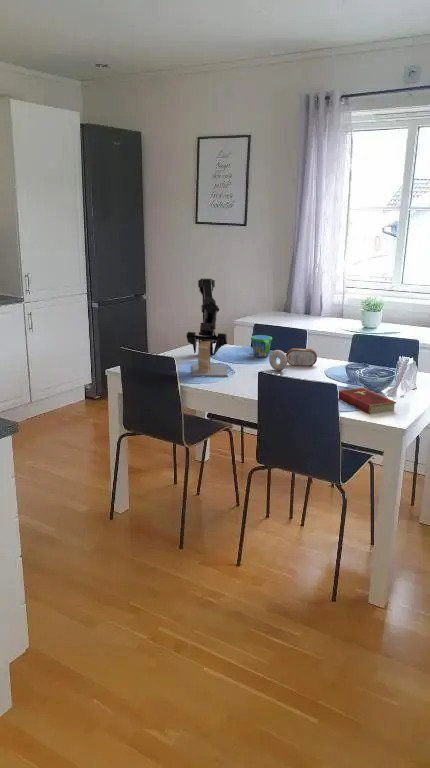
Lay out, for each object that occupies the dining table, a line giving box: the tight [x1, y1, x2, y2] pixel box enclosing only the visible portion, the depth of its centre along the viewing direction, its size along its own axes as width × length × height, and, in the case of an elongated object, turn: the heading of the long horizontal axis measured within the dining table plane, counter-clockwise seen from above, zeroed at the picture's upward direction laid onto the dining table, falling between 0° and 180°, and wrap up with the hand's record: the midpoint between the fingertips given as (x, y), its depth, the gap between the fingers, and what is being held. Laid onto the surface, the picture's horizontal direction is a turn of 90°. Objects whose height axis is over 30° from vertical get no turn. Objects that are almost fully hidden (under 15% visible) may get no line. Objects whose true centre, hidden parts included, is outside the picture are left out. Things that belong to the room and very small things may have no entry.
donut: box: [268, 349, 288, 372], centre depth 287 cm, size 10×4×10 cm, turn 46°
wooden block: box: [197, 342, 211, 372], centre depth 282 cm, size 5×4×13 cm
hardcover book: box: [338, 387, 397, 415], centre depth 239 cm, size 12×21×4 cm, turn 23°
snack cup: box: [250, 334, 273, 358], centre depth 315 cm, size 16×10×10 cm
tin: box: [285, 347, 318, 367], centre depth 297 cm, size 15×3×8 cm, turn 84°
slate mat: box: [191, 363, 229, 378], centre depth 286 cm, size 20×16×1 cm
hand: (204, 353), depth 282 cm, fingers open, 9 cm apart
